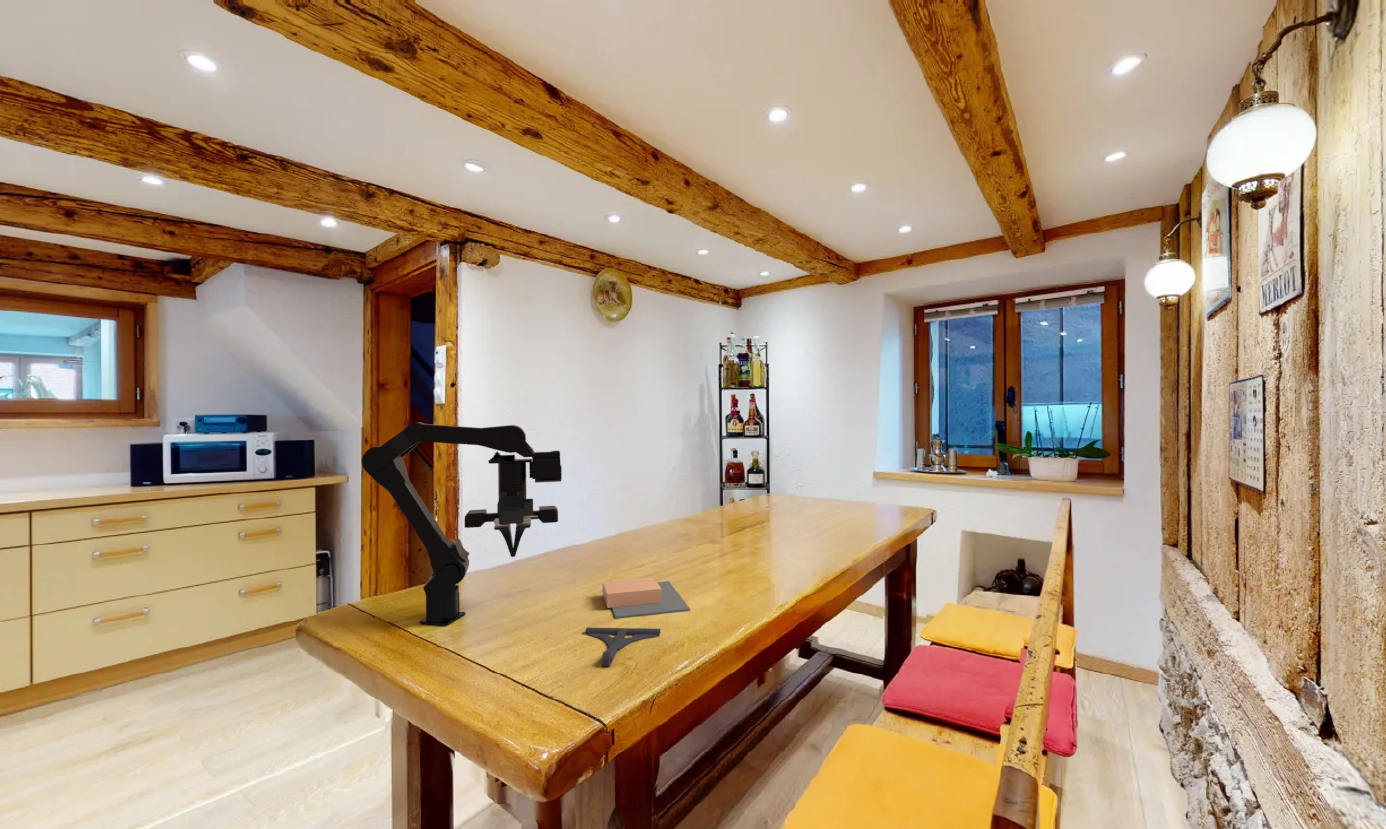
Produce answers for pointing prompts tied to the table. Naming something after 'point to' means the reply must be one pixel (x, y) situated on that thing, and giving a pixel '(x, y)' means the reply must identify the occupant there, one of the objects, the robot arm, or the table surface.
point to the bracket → (619, 639)
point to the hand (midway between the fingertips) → (513, 556)
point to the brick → (631, 592)
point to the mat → (655, 604)
